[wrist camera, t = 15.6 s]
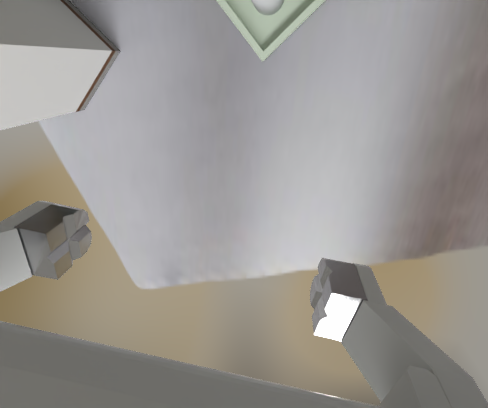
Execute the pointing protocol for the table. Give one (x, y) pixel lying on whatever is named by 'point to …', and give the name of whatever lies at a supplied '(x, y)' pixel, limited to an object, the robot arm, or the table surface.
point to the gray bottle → (267, 6)
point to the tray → (268, 22)
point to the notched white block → (48, 60)
